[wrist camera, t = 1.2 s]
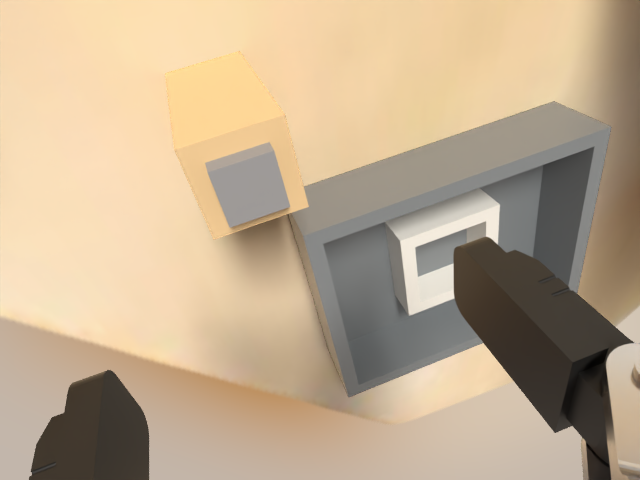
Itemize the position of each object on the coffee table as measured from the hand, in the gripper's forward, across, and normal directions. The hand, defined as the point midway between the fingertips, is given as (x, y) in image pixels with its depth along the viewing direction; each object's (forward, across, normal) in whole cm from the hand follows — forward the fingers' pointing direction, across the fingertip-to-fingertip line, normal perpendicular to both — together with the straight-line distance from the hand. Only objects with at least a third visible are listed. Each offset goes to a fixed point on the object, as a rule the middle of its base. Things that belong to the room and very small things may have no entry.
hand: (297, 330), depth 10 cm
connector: (+18, 0, 0) cm, 18 cm away
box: (+18, -12, +15) cm, 27 cm away
